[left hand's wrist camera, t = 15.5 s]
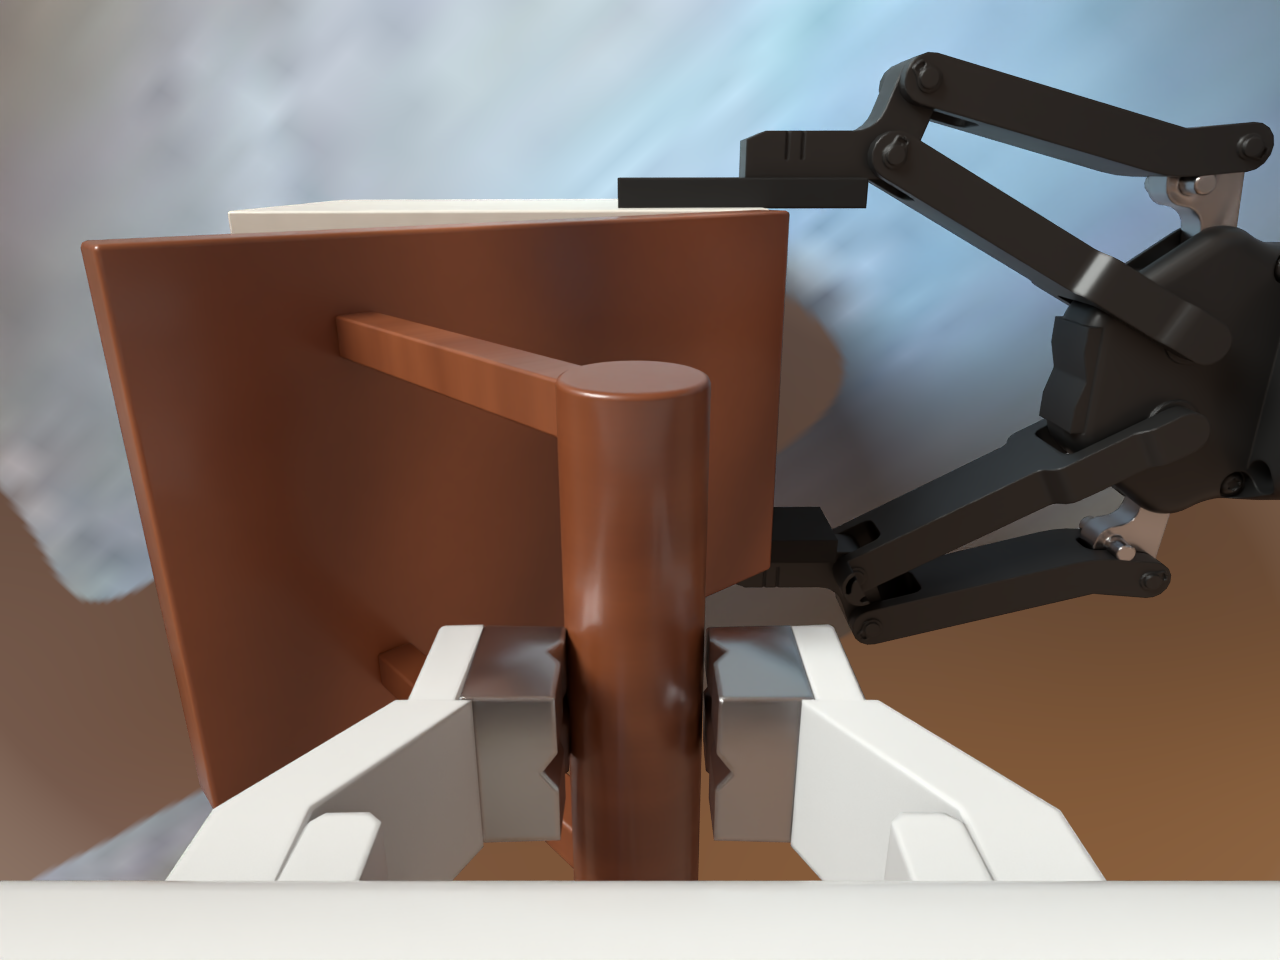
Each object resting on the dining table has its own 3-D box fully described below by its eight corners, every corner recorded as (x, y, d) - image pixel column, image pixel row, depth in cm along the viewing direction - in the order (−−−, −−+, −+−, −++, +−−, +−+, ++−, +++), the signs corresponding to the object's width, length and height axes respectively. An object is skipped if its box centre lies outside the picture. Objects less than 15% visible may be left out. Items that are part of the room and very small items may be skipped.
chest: (372, 458, 33) (282, 557, 24) (342, 199, 30) (225, 211, 21) (723, 456, 33) (754, 554, 24) (732, 198, 30) (771, 208, 21)
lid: (199, 787, 15) (440, 1210, 9) (77, 241, 12) (324, 311, 6) (743, 557, 24) (1053, 690, 18) (758, 209, 21) (1142, 224, 15)
